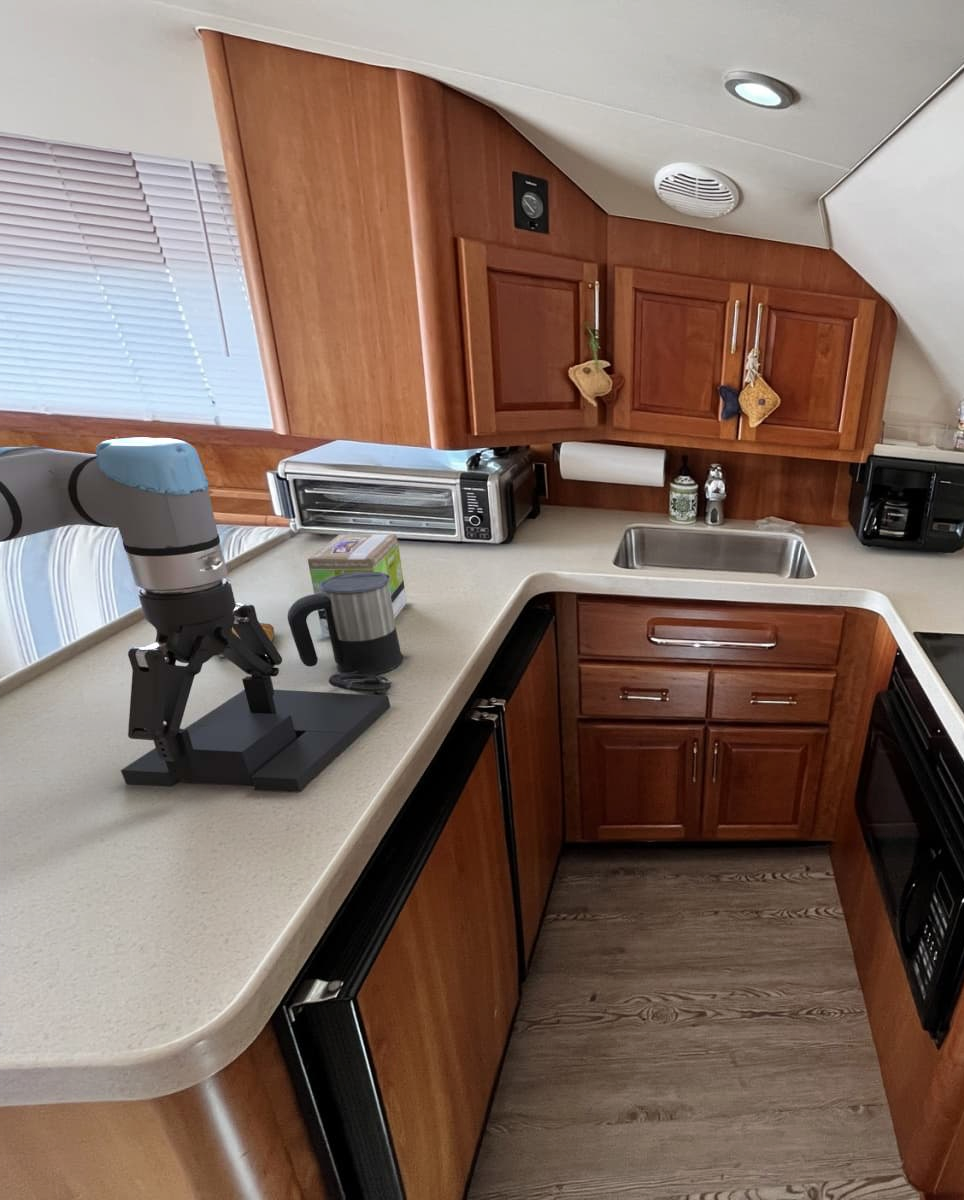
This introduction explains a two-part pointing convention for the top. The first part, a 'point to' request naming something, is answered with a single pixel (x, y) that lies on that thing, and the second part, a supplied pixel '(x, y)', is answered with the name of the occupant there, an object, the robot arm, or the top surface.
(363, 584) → the milk frother
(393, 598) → the tea box
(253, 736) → the black block
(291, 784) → the dark notched slab
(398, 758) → the top surface
